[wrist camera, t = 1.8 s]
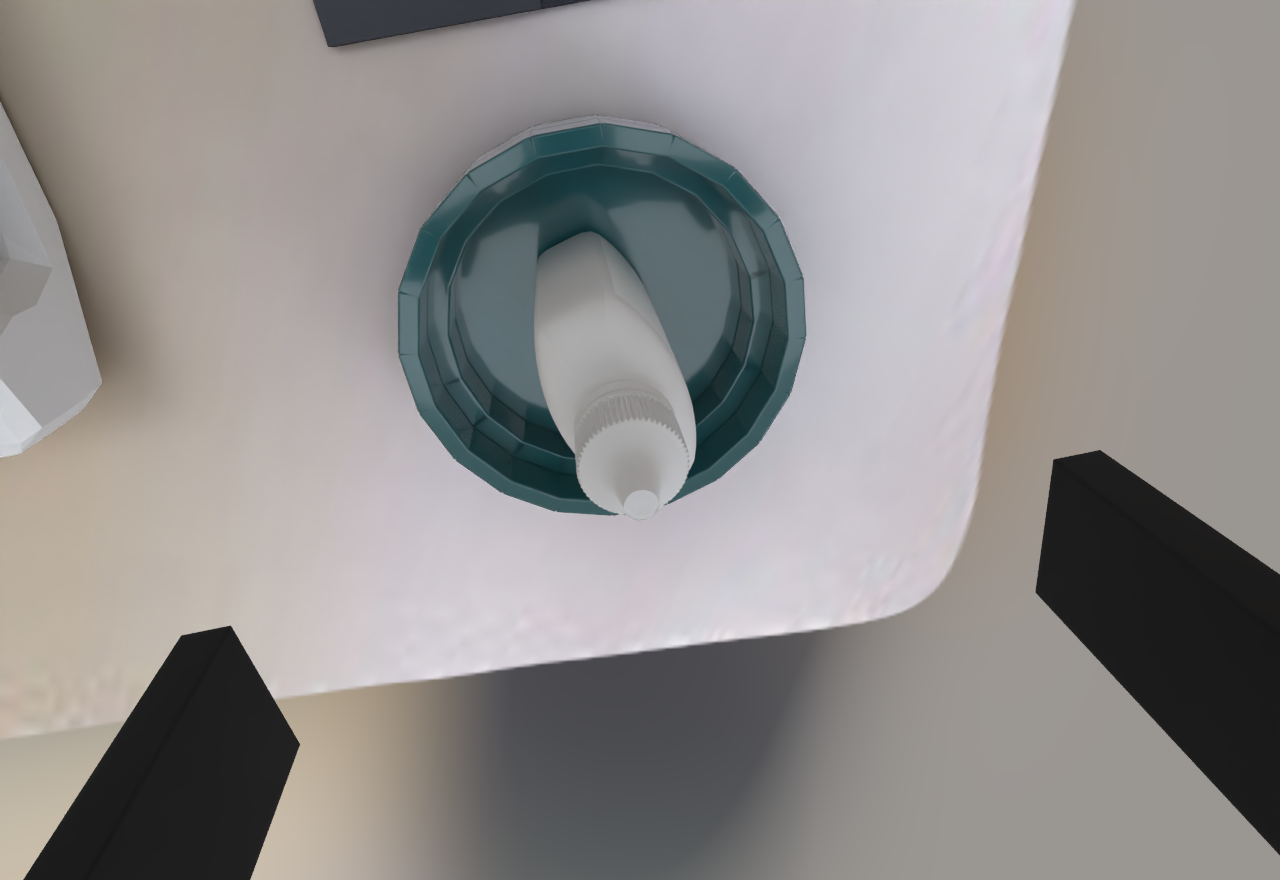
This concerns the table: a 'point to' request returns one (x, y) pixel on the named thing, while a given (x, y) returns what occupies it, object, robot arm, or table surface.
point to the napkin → (411, 15)
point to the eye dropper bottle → (611, 378)
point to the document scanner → (36, 312)
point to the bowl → (659, 254)
